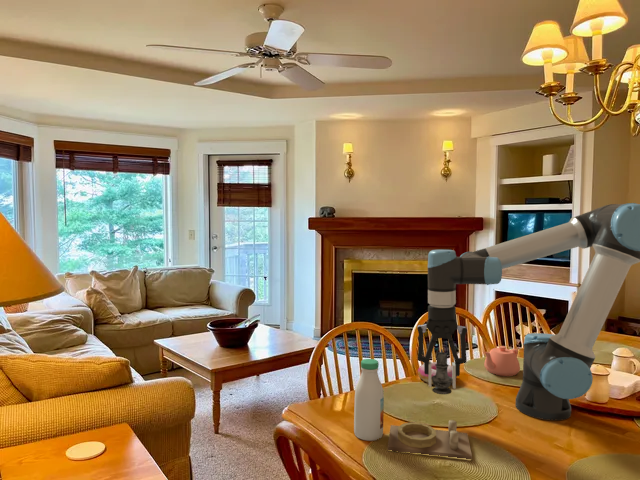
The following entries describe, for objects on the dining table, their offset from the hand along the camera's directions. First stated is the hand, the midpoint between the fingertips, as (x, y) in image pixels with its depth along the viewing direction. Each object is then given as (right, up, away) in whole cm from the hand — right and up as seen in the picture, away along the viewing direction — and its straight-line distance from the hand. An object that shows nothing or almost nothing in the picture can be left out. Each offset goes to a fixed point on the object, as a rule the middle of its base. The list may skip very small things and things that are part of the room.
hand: (441, 385), depth 134 cm
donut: (+7, -9, +34) cm, 36 cm away
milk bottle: (-22, -11, -8) cm, 25 cm away
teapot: (+33, -8, +43) cm, 54 cm away
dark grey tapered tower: (0, -2, 0) cm, 2 cm away
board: (-7, -11, -13) cm, 18 cm away
